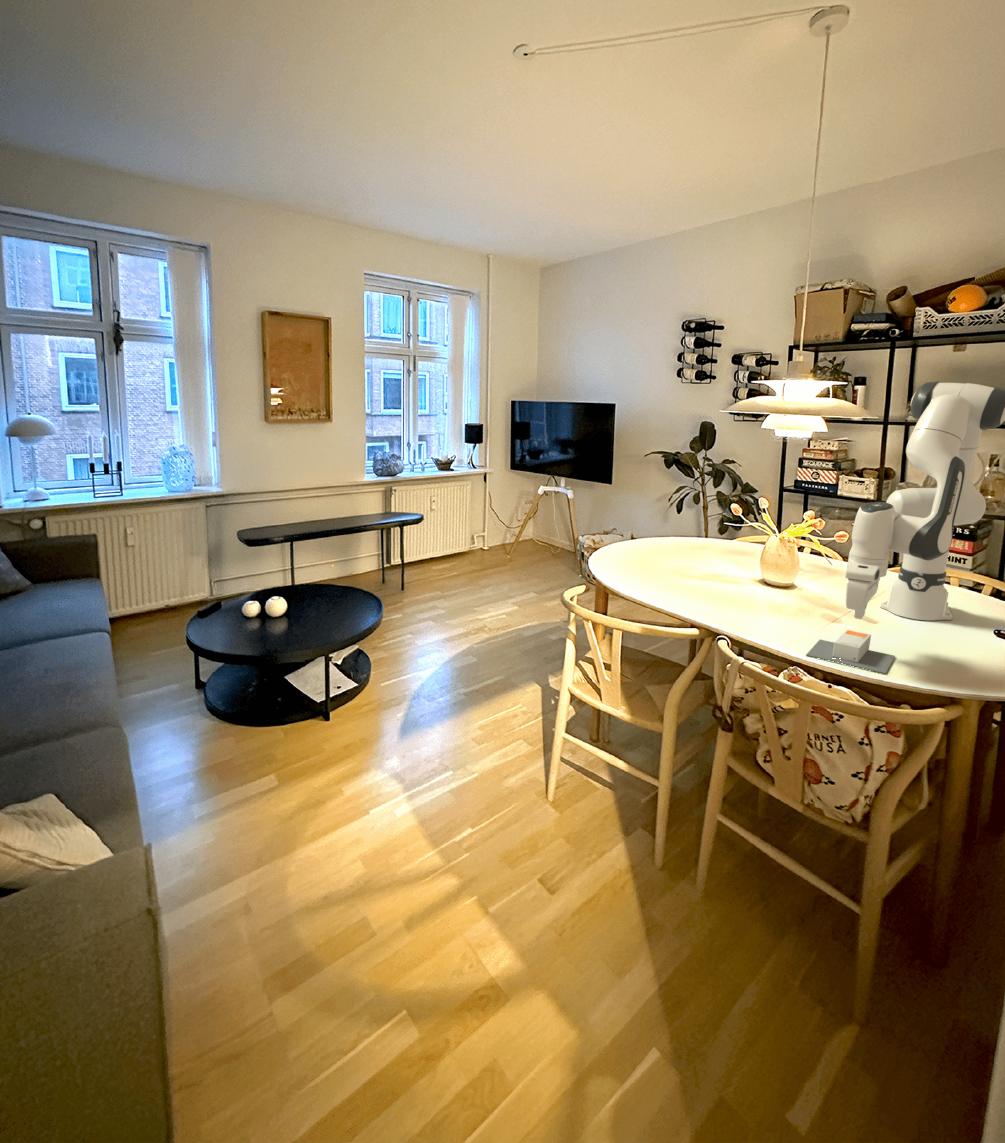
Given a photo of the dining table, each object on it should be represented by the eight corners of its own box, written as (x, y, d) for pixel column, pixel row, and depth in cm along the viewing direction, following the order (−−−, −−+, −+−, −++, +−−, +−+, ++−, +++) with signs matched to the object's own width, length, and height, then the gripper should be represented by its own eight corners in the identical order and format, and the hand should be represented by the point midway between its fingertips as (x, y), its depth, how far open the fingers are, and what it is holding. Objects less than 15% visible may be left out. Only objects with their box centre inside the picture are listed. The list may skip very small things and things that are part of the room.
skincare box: (871, 633, 164) (860, 647, 155) (869, 648, 165) (858, 663, 156) (846, 628, 168) (834, 642, 159) (844, 643, 169) (831, 657, 160)
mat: (819, 640, 172) (819, 639, 172) (894, 657, 161) (895, 655, 160) (806, 656, 162) (806, 654, 162) (885, 674, 151) (885, 673, 151)
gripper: (861, 556, 168) (854, 605, 171) (844, 572, 153) (836, 625, 156) (888, 560, 164) (880, 609, 167) (873, 577, 149) (864, 631, 152)
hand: (859, 617), depth 162 cm, fingers closed
